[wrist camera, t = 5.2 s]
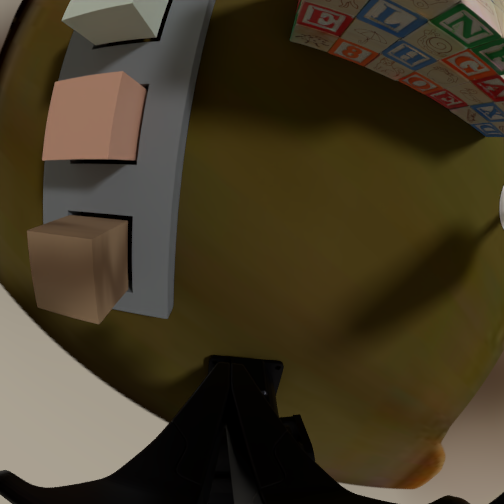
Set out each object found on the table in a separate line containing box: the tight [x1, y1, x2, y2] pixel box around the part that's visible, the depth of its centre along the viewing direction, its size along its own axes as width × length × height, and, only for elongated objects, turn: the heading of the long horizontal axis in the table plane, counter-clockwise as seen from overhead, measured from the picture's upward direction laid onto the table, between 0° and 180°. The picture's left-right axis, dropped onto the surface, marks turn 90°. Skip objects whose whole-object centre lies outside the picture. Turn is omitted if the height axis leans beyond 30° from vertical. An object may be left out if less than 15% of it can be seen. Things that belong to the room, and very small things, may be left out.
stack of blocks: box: [290, 0, 504, 137], centre depth 10 cm, size 21×6×12 cm, turn 78°
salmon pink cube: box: [42, 71, 148, 161], centre depth 14 cm, size 5×5×5 cm
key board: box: [43, 0, 215, 319], centre depth 16 cm, size 27×11×2 cm, turn 172°
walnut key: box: [27, 215, 128, 324], centre depth 15 cm, size 5×5×5 cm
